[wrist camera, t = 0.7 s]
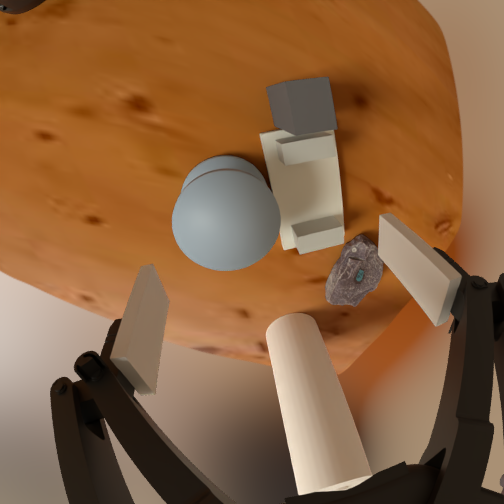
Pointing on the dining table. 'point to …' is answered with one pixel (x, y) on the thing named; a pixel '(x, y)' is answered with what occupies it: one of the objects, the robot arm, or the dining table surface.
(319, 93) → the gray rectangular block
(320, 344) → the cylinder container
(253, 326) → the dining table surface
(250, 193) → the spool
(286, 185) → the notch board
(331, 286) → the rock
